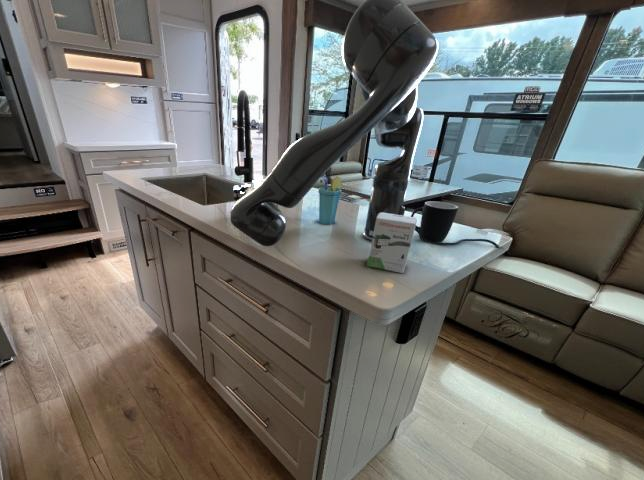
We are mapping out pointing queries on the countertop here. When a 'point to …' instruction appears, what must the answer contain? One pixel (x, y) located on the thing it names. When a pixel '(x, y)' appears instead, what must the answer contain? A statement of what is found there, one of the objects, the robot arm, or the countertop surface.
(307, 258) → the countertop surface
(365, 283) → the countertop surface
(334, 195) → the cup
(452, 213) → the mug
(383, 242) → the ink box
